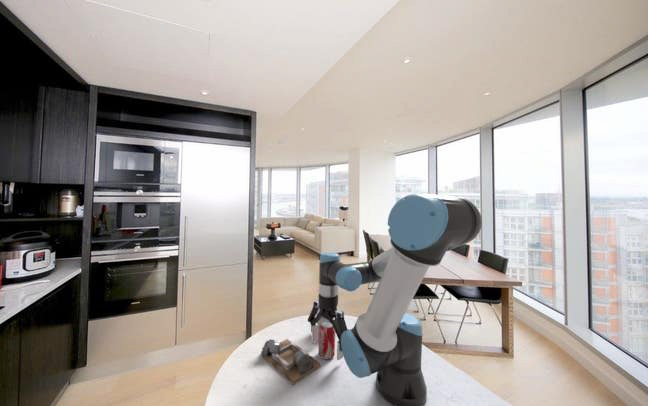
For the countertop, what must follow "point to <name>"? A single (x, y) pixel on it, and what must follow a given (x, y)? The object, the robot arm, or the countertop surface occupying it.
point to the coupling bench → (293, 362)
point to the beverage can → (326, 340)
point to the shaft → (271, 348)
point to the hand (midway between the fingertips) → (326, 349)
